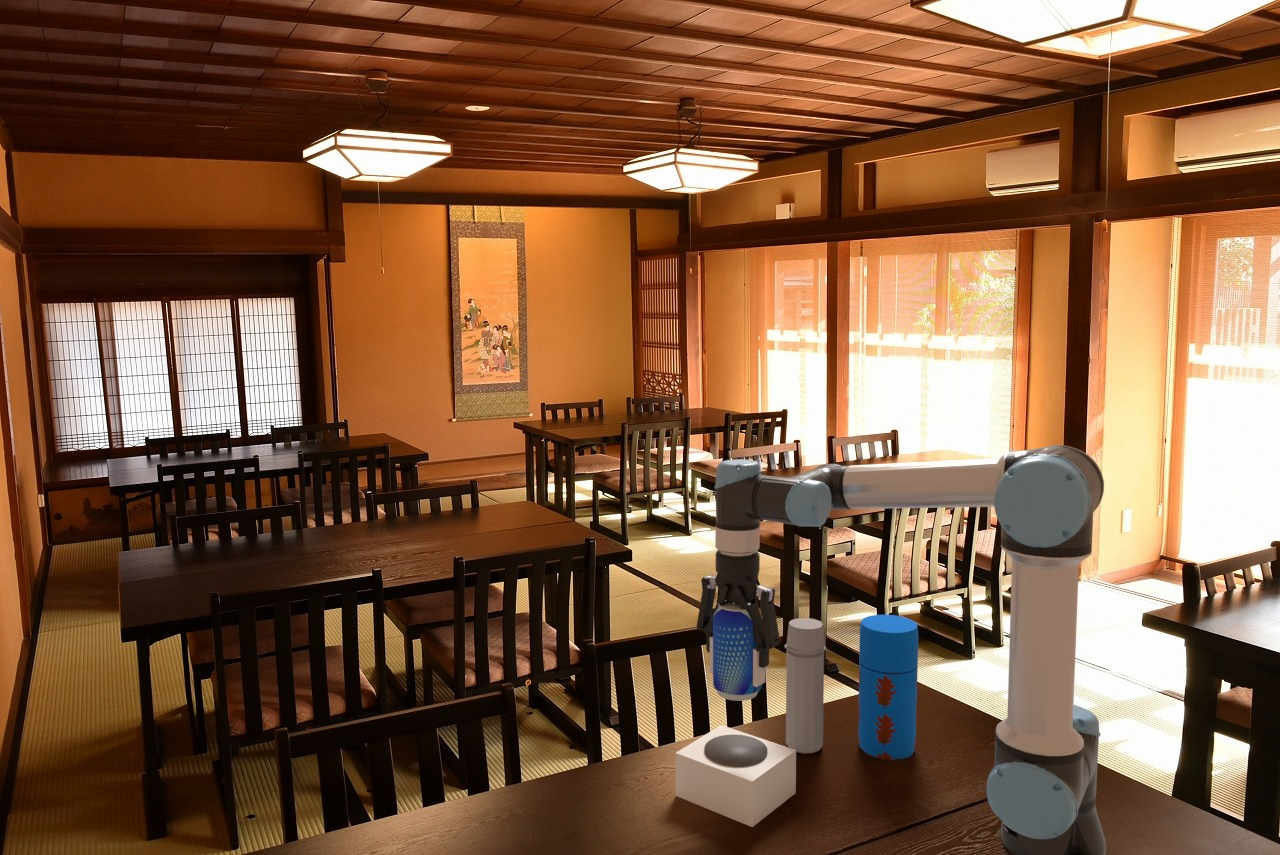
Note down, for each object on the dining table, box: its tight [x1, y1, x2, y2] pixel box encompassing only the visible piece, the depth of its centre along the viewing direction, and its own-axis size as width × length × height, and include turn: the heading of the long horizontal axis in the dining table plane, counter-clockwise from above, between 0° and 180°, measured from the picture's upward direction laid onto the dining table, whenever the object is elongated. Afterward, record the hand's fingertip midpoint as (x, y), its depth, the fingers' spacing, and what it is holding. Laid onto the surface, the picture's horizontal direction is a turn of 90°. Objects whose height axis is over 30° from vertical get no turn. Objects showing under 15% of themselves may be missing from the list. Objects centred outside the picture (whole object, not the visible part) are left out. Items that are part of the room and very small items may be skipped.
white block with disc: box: [675, 724, 797, 828], centre depth 162 cm, size 16×14×8 cm
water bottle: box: [784, 617, 827, 755], centre depth 179 cm, size 9×8×25 cm
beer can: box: [712, 603, 763, 702], centre depth 160 cm, size 8×8×16 cm
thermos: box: [857, 614, 919, 761], centre depth 178 cm, size 11×11×25 cm
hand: (737, 677), depth 160 cm, fingers closed on beer can, 8 cm apart
